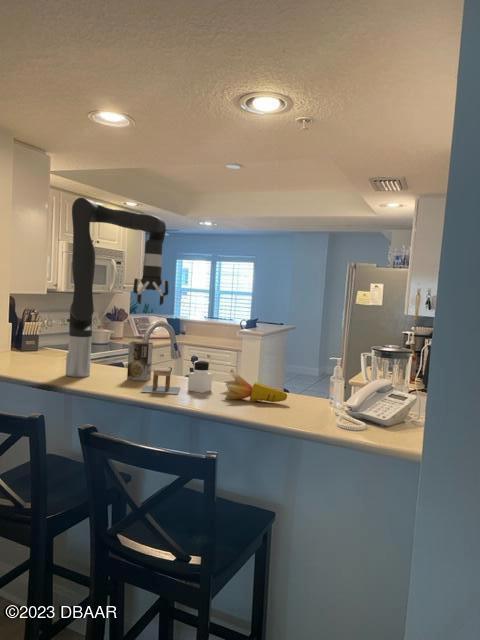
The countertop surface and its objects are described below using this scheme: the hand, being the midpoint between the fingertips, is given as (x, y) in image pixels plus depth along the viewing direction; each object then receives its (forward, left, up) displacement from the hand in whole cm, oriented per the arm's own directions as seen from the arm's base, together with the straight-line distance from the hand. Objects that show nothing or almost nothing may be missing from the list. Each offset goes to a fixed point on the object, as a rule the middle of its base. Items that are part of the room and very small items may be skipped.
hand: (150, 304), depth 189 cm
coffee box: (-4, +8, -33) cm, 34 cm away
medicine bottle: (+23, -8, -33) cm, 41 cm away
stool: (+8, -12, -33) cm, 36 cm away
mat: (+8, -12, -33) cm, 36 cm away
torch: (+44, -22, -33) cm, 59 cm away
